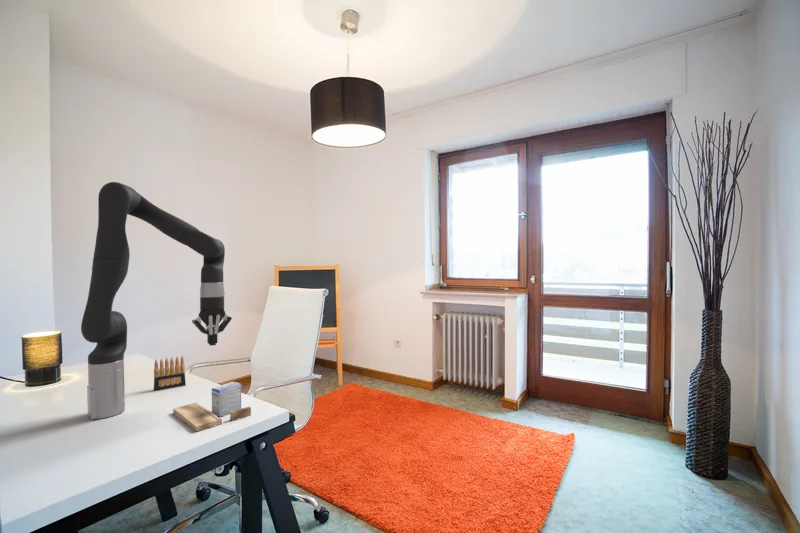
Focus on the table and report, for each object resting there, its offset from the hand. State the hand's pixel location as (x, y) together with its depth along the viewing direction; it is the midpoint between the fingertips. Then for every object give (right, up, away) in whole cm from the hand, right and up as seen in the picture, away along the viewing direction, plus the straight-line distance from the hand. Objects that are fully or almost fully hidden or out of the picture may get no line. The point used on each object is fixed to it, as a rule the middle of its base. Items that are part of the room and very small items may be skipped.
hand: (212, 345), depth 130 cm
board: (+2, -20, -13) cm, 24 cm away
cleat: (+15, -20, -13) cm, 28 cm away
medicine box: (+9, -20, -8) cm, 24 cm away
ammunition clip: (-26, -21, +18) cm, 38 cm away
